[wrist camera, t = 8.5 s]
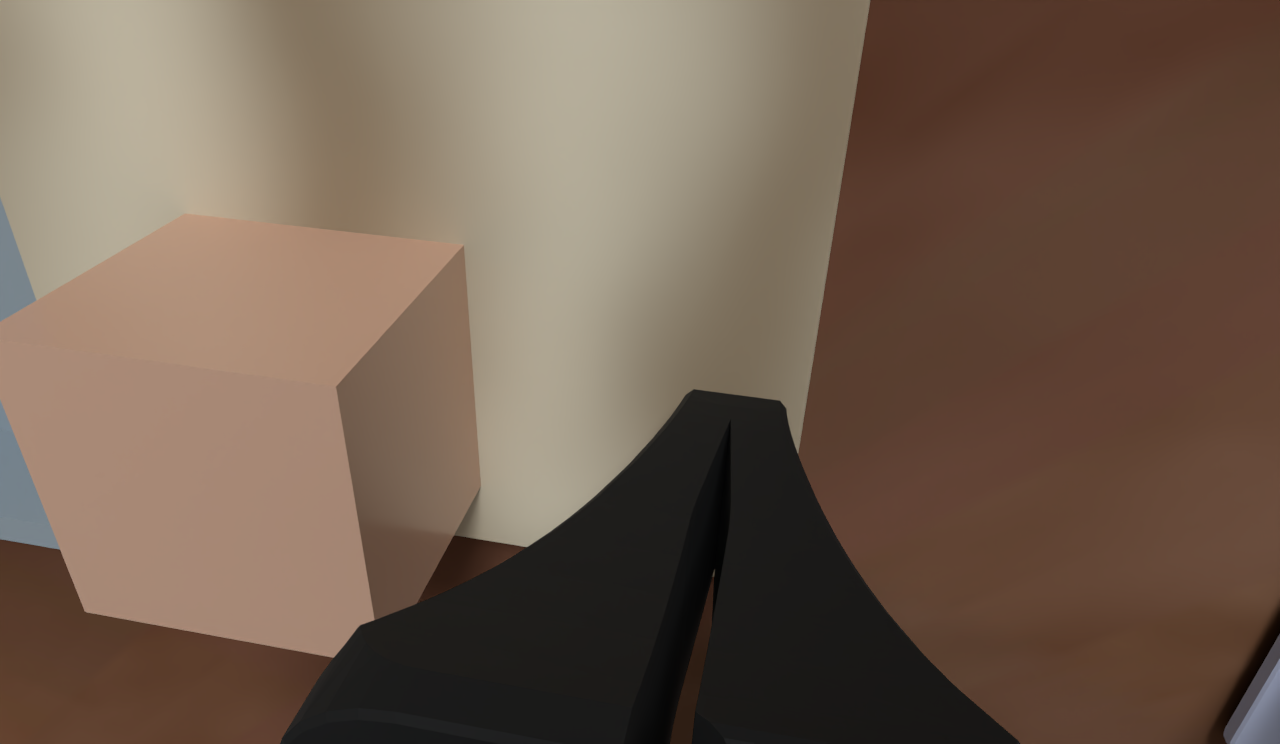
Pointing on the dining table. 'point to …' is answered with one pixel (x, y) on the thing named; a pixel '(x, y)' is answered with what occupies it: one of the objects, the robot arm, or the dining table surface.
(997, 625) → the dining table surface
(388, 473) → the wooden cube
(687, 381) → the board
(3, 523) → the tray
